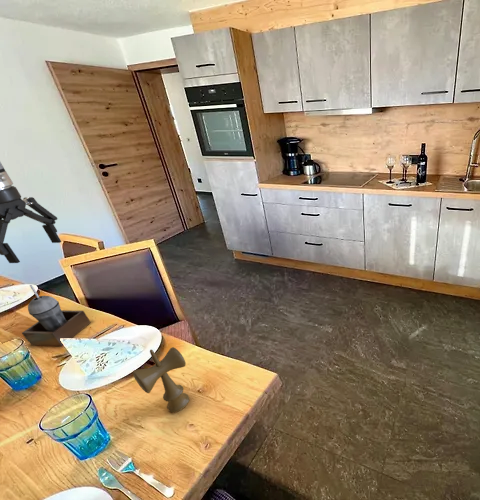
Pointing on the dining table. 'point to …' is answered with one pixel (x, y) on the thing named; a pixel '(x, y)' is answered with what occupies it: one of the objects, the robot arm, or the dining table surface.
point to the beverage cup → (46, 311)
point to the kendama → (164, 379)
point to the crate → (57, 330)
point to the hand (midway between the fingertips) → (37, 251)
